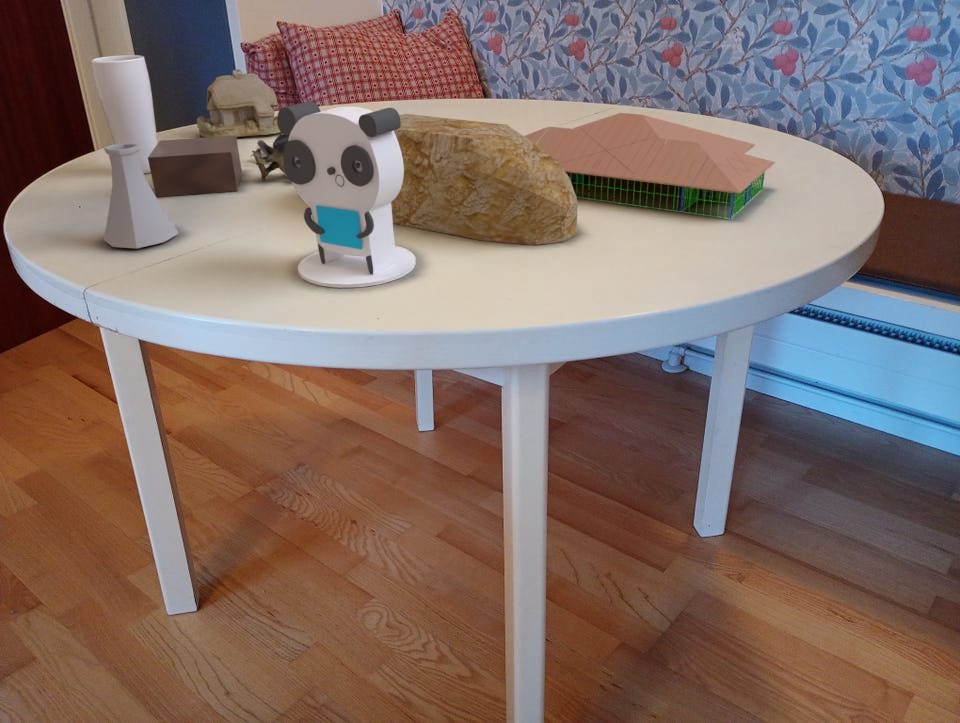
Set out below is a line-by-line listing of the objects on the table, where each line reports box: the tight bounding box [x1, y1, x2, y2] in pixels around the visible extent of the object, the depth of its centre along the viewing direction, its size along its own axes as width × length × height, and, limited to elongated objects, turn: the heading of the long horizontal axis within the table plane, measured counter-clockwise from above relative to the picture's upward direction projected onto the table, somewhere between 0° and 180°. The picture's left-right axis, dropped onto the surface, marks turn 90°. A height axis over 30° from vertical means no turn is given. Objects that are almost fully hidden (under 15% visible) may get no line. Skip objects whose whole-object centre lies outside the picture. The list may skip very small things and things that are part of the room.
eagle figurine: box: [252, 134, 292, 184], centre depth 108 cm, size 8×7×9 cm
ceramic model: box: [196, 69, 281, 138], centre depth 135 cm, size 14×11×10 cm
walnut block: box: [148, 136, 243, 198], centre depth 107 cm, size 10×10×5 cm
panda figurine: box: [276, 100, 417, 289], centre depth 77 cm, size 12×11×15 cm
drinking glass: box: [91, 54, 159, 175], centre depth 112 cm, size 7×7×15 cm
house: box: [523, 112, 776, 220], centre depth 103 cm, size 23×33×8 cm
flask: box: [103, 143, 180, 249], centre depth 86 cm, size 7×7×10 cm
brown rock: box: [391, 113, 579, 246], centre depth 92 cm, size 36×11×10 cm, turn 56°
